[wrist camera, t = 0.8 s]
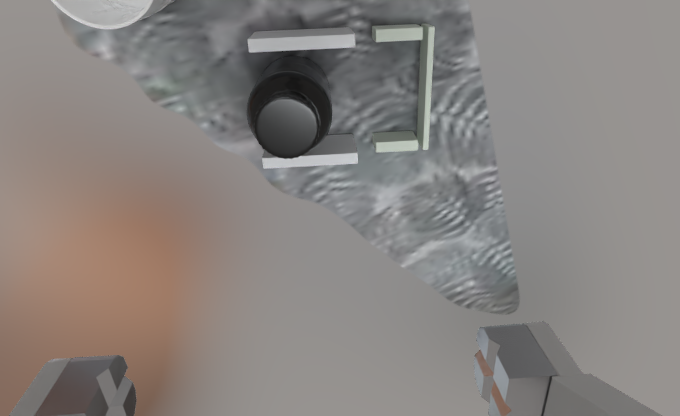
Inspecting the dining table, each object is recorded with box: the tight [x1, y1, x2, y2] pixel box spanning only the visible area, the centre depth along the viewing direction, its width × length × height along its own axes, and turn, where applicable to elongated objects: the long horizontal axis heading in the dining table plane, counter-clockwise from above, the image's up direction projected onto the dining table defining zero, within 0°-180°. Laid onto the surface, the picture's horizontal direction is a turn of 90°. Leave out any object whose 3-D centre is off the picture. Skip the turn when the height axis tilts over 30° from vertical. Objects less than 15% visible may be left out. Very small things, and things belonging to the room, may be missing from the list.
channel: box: [248, 27, 358, 169], centre depth 41 cm, size 11×8×6 cm
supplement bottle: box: [247, 56, 332, 159], centre depth 38 cm, size 7×7×12 cm
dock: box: [372, 23, 435, 153], centre depth 42 cm, size 11×5×3 cm, turn 2°
